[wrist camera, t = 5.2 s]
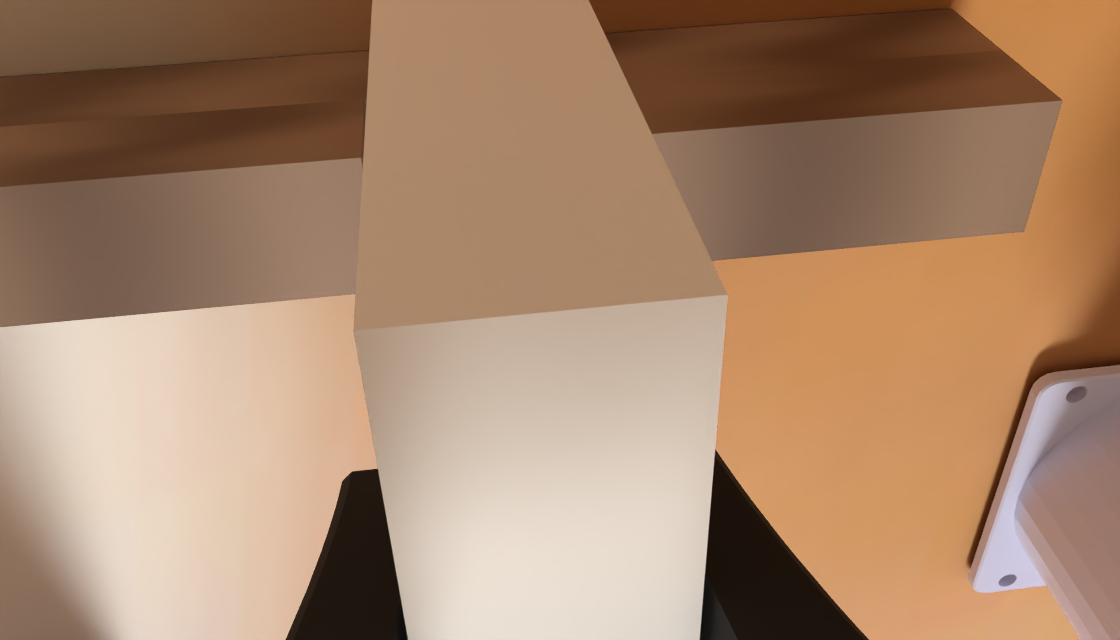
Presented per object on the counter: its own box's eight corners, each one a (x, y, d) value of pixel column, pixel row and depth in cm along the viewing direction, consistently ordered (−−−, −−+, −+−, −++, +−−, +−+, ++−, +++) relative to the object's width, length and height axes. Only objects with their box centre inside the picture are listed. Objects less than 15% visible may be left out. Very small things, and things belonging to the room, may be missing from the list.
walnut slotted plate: (951, 8, 19) (1062, 100, 16) (926, 126, 21) (1024, 231, 17) (-61, 81, 18) (-160, 200, 14) (-11, 203, 19) (-90, 335, 16)
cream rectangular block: (575, 422, 18) (678, 898, 11) (435, 437, 18) (458, 931, 11) (563, -53, 13) (726, 295, 7) (374, -41, 13) (353, 331, 6)
